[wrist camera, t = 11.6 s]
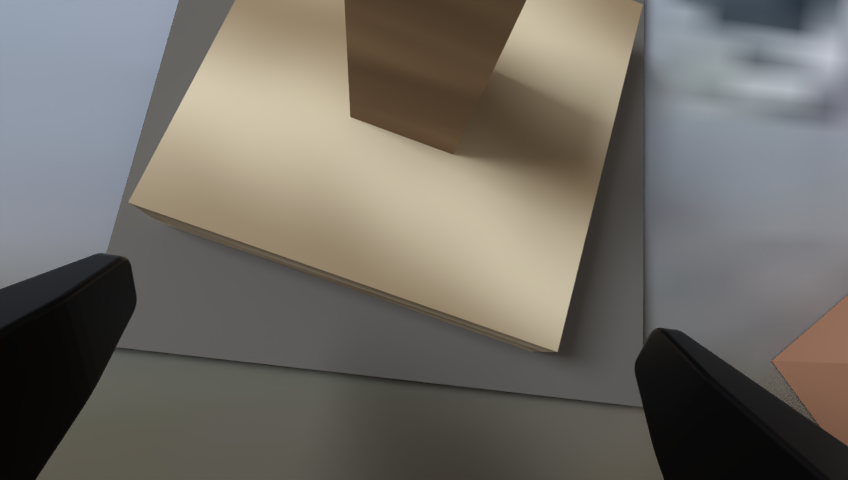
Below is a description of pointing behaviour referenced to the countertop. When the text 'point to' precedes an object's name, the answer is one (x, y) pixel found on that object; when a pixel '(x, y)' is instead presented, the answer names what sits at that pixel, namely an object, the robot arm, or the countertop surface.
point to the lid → (405, 149)
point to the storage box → (821, 370)
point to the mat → (368, 316)
